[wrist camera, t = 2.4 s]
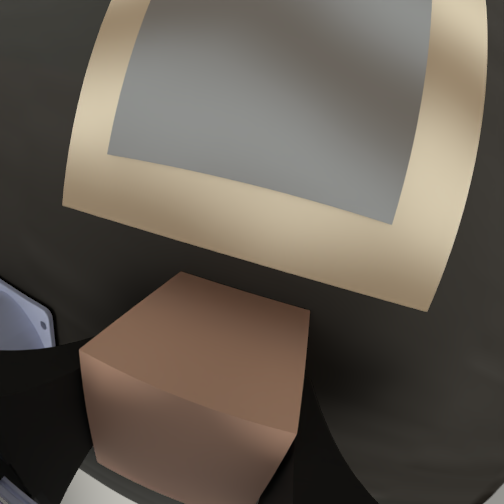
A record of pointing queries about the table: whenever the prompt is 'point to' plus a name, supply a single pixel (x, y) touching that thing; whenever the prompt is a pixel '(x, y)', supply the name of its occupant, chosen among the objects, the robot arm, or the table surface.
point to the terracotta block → (197, 390)
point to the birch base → (288, 132)
